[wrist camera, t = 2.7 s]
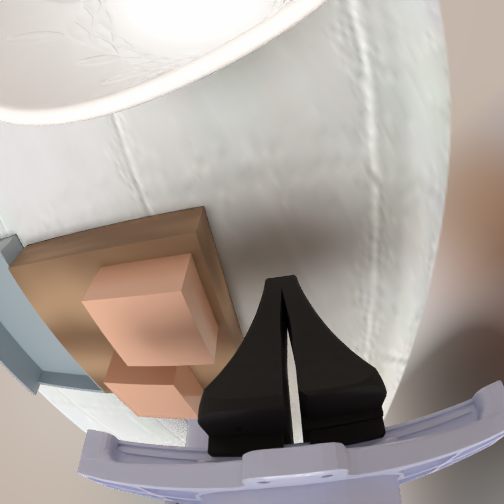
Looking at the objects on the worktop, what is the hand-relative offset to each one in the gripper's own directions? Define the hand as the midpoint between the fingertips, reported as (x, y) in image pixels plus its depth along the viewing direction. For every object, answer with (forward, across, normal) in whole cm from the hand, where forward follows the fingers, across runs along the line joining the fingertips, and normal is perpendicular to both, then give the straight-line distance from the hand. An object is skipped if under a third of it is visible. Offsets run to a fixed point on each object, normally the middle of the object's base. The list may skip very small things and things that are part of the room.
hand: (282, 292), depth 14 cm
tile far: (+1, +9, +7) cm, 12 cm away
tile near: (+1, +6, 0) cm, 6 cm away
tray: (+3, +22, +4) cm, 22 cm away
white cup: (+3, +1, -14) cm, 14 cm away
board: (+3, +10, +4) cm, 11 cm away
